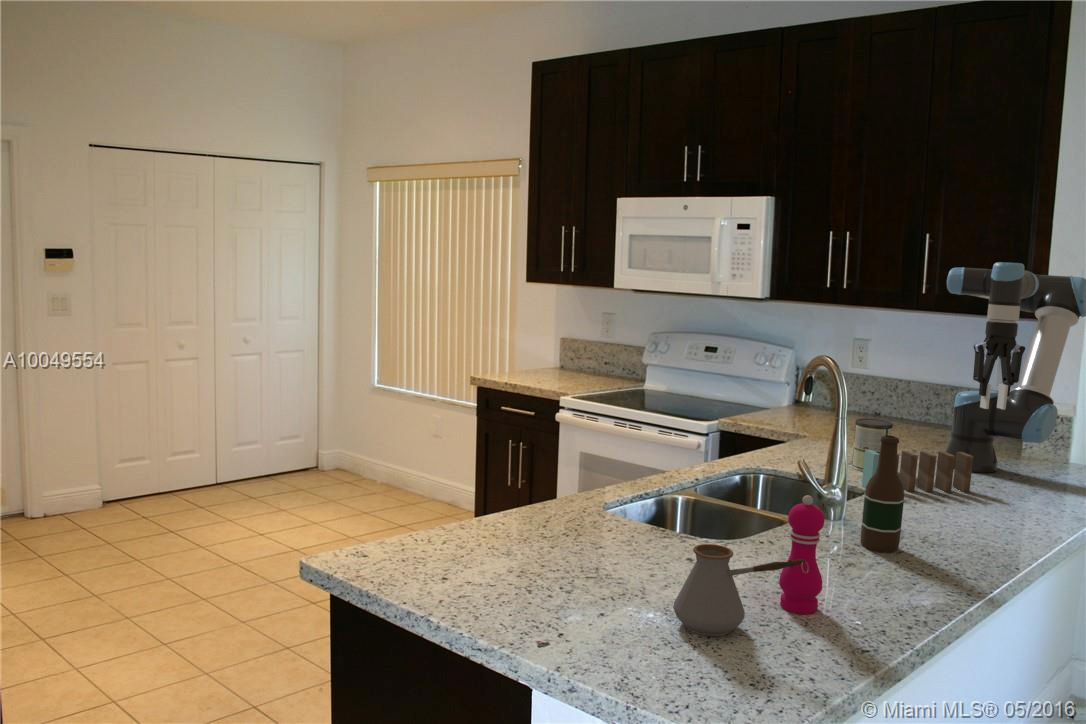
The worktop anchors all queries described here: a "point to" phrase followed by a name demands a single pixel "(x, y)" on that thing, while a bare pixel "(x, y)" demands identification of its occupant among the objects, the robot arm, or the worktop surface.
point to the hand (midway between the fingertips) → (992, 408)
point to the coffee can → (868, 438)
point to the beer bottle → (883, 502)
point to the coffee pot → (716, 591)
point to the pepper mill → (804, 541)
